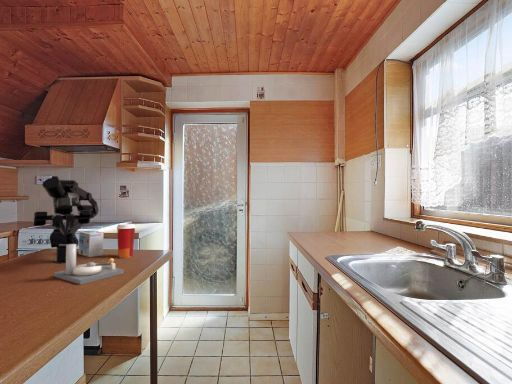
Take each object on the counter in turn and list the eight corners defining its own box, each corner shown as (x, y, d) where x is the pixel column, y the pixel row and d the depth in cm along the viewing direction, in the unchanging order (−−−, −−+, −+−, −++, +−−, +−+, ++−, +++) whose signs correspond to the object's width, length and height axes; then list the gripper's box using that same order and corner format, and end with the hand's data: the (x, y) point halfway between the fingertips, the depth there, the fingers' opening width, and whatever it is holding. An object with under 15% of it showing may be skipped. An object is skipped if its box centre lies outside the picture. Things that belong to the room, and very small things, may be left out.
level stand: (54, 276, 104) (54, 261, 104) (97, 267, 118) (97, 254, 118) (80, 284, 97) (80, 268, 97) (123, 273, 111) (123, 259, 111)
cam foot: (110, 267, 112) (111, 240, 112) (110, 273, 104) (111, 244, 104) (67, 270, 106) (68, 242, 106) (63, 277, 98) (64, 247, 98)
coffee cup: (128, 254, 143) (129, 223, 143) (138, 256, 138) (139, 224, 138) (111, 256, 137) (112, 224, 136) (121, 259, 132) (122, 225, 132)
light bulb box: (78, 254, 141) (78, 231, 141) (92, 251, 146) (93, 230, 146) (89, 257, 135) (89, 233, 135) (103, 255, 140) (104, 232, 140)
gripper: (34, 190, 110) (36, 222, 102) (90, 191, 123) (96, 220, 114) (32, 209, 116) (34, 241, 108) (86, 208, 129) (91, 237, 120)
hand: (65, 234), depth 113 cm, fingers closed
